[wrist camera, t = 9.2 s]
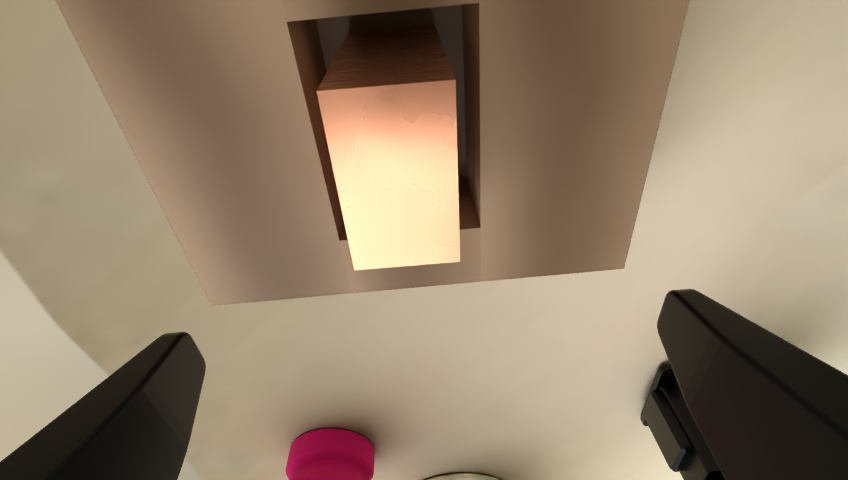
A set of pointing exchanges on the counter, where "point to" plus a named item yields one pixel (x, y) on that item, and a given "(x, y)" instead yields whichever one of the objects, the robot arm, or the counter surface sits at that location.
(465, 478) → the coffee can
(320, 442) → the pepper mill
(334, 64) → the tall wooden block
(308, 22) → the well block
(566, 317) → the counter surface
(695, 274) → the counter surface
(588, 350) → the counter surface
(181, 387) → the robot arm
